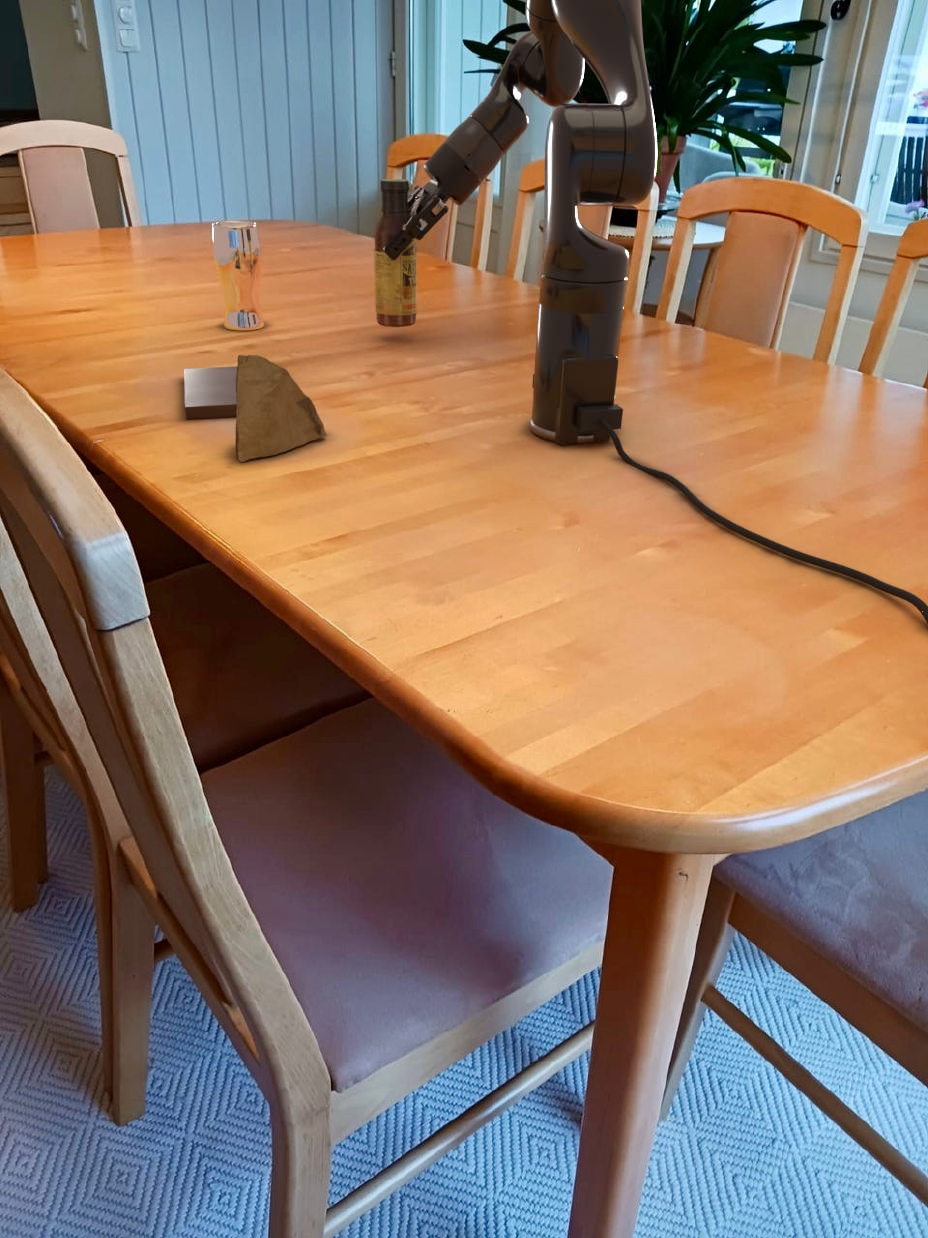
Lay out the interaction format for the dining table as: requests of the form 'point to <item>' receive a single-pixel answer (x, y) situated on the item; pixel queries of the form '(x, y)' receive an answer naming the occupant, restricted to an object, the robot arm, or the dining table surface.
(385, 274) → the sauce bottle
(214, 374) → the metal block
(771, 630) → the dining table surface
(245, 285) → the beer glass
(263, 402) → the rock
